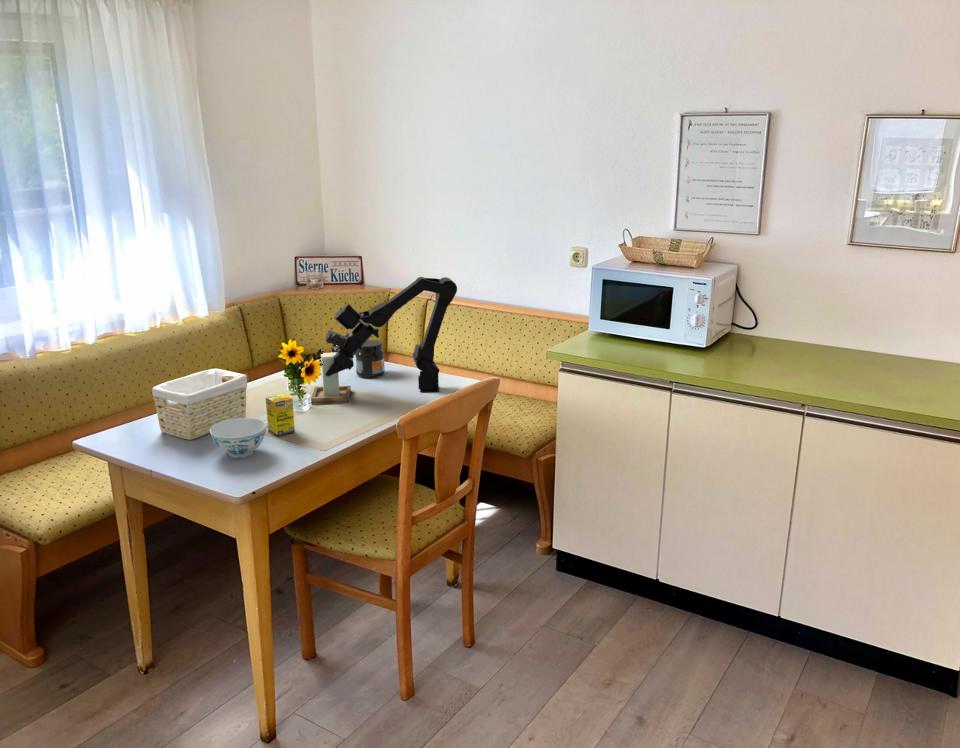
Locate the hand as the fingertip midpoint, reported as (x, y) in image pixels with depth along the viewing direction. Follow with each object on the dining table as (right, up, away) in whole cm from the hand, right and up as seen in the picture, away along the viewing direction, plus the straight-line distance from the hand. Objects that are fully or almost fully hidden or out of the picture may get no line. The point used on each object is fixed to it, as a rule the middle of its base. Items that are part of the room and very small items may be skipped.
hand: (325, 372), depth 262 cm
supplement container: (+11, -1, +27) cm, 29 cm away
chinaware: (-16, -23, -41) cm, 50 cm away
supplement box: (-8, -18, -26) cm, 33 cm away
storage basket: (-33, -17, -21) cm, 42 cm away
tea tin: (+1, -8, +3) cm, 8 cm away
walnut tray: (+1, -8, +3) cm, 9 cm away
